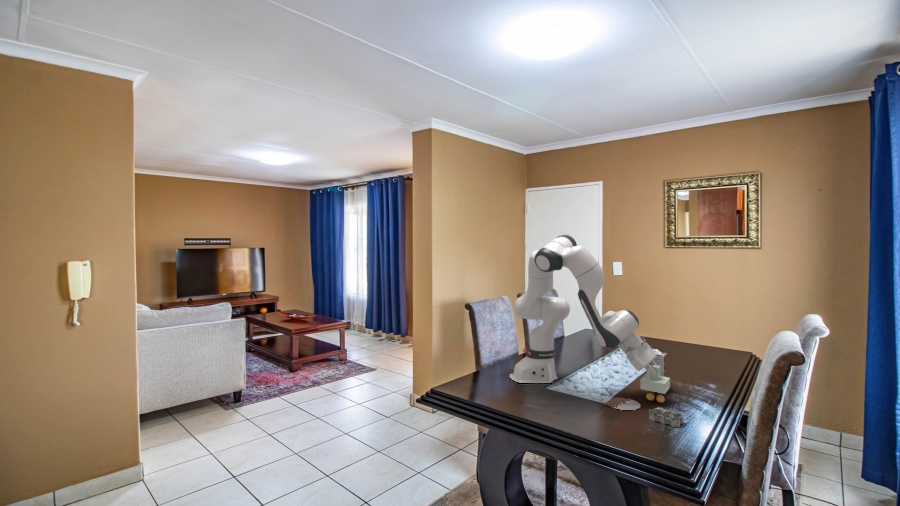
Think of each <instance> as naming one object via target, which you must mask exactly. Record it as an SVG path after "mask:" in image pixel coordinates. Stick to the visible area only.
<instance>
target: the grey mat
mask: <svg viewBox="0 0 900 506" xmlns="http://www.w3.org/2000/svg"><path fill="white" fill-rule="evenodd" d="M612 397H613V396H611V397H610V396H609V397H605V398H604V399H603V400H602V404H603V403H606V402H608V401H609V400H610V399H611V398H612ZM628 399H629V400H630V399H631V398H628ZM625 403H626V404H623V403H622V402H621V405H620V404H619V405H618V406H617V408H616V407H614V408H616V409H620V410H619V411H622V410H633V411H637V410H636V409H638V408H639V409H640V408H641V404H640V403H639V402H638V401H636V400H634V399H631V400H630V401H626V402H625ZM615 406H616V405H615ZM616 409H615V410H616ZM639 409H638V410H639Z"/></svg>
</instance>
